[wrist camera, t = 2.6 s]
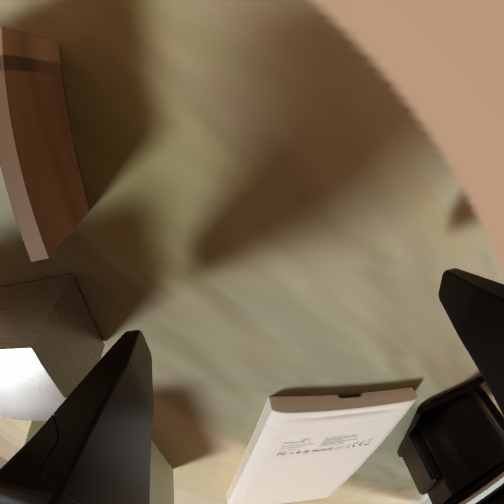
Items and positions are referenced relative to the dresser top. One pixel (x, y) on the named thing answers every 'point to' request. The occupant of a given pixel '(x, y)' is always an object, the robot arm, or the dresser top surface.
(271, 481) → the external hard drive
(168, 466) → the sage block
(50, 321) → the dark gray rectangular block
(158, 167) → the dresser top surface
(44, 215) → the frame
